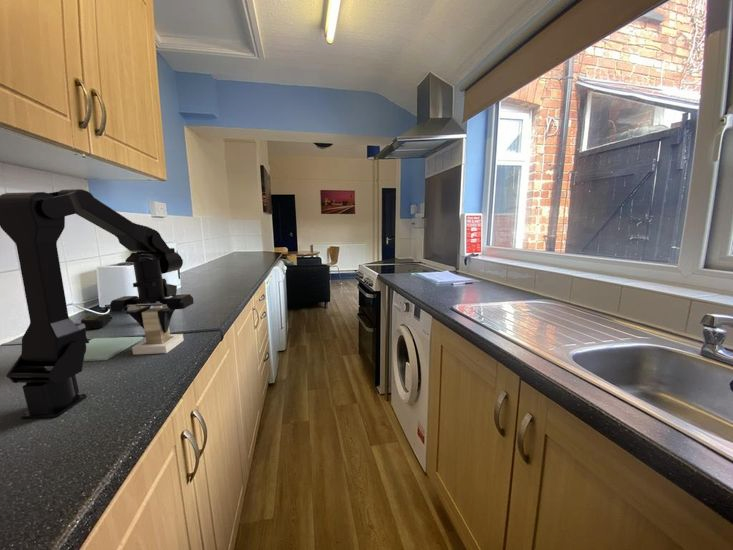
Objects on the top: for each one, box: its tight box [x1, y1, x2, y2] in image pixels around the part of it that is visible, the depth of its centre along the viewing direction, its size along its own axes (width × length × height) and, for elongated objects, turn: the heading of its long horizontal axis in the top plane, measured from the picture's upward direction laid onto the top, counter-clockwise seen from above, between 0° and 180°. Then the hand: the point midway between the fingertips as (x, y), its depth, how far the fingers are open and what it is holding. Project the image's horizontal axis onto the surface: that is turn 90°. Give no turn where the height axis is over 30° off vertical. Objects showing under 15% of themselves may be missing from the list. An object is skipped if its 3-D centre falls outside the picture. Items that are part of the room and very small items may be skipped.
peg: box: [142, 307, 171, 345], centre depth 83 cm, size 4×4×10 cm
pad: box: [83, 336, 144, 362], centre depth 83 cm, size 14×14×1 cm
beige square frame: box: [131, 333, 185, 356], centre depth 84 cm, size 8×8×2 cm
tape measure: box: [80, 313, 113, 330], centre depth 101 cm, size 7×7×4 cm
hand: (157, 332), depth 83 cm, fingers closed on peg, 4 cm apart
